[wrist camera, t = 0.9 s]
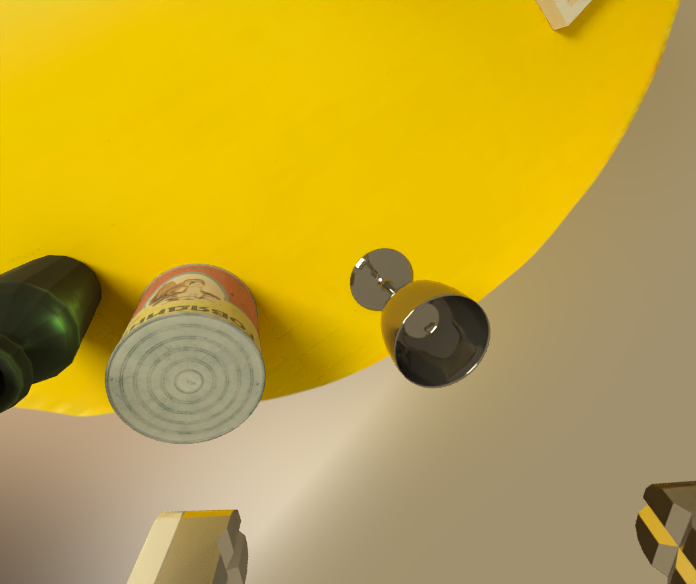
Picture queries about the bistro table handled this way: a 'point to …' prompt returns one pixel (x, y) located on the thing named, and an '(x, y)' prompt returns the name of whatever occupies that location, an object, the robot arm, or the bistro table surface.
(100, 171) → the bistro table surface
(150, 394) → the canned food
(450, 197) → the bistro table surface
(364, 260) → the wine glass
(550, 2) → the pale socket
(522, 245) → the bistro table surface
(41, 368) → the potion bottle
